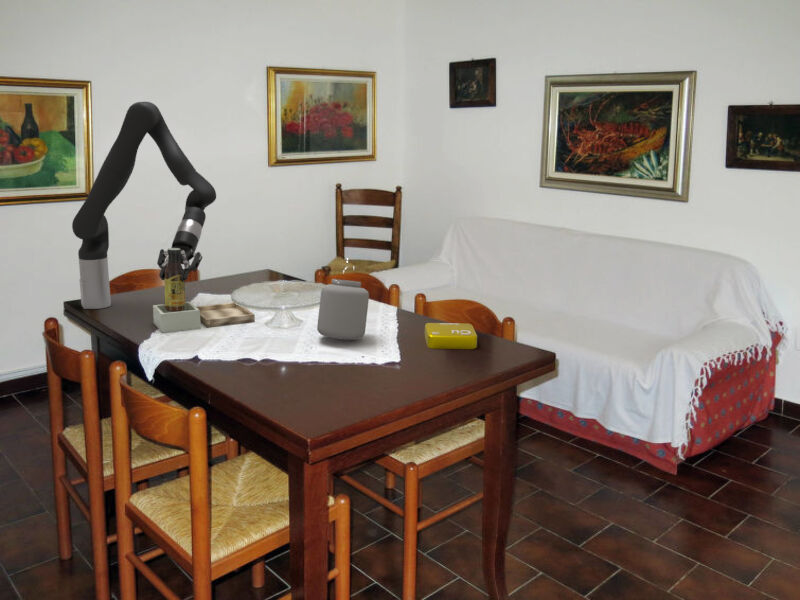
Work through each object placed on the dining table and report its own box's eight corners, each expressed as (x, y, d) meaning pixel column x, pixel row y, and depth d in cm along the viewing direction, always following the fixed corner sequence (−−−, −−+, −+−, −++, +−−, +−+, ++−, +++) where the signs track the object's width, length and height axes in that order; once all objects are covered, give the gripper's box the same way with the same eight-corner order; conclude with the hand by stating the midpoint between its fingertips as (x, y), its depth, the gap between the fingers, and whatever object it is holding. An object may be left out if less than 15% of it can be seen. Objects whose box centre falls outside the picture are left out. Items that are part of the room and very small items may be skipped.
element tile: (470, 336, 244) (471, 321, 243) (477, 350, 229) (478, 335, 228) (424, 335, 243) (424, 321, 242) (427, 349, 229) (428, 334, 228)
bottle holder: (162, 332, 238) (161, 314, 236) (153, 323, 248) (152, 305, 246) (200, 328, 244) (199, 310, 242) (190, 319, 254) (190, 301, 252)
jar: (338, 327, 248) (339, 251, 242) (379, 333, 242) (380, 256, 236) (308, 342, 232) (307, 261, 226) (350, 349, 226) (351, 267, 220)
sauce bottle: (173, 313, 240) (170, 251, 236) (160, 310, 244) (158, 248, 239) (190, 309, 246) (187, 248, 241) (177, 306, 249) (175, 246, 244)
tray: (206, 327, 245) (206, 320, 244) (192, 314, 260) (191, 307, 259) (254, 321, 252) (254, 314, 252) (237, 309, 267) (237, 302, 267)
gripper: (162, 228, 247) (146, 271, 239) (204, 231, 245) (189, 275, 236) (171, 241, 253) (155, 284, 245) (211, 244, 251) (197, 287, 243)
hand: (172, 279), depth 241 cm, fingers closed on sauce bottle, 6 cm apart
